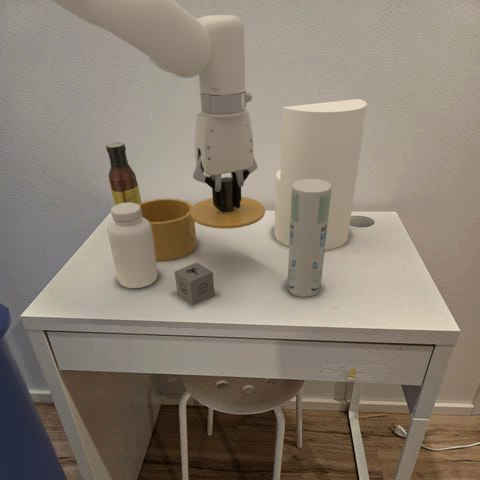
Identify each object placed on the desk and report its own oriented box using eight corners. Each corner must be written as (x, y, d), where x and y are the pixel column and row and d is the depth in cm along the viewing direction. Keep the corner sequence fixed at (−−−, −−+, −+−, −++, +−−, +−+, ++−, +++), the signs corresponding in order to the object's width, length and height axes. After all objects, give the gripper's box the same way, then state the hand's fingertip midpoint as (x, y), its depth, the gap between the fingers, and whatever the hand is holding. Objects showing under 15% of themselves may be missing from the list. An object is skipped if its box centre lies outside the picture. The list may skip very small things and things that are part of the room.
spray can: (319, 299, 80) (330, 193, 68) (284, 295, 82) (289, 190, 70) (322, 281, 85) (333, 179, 73) (289, 277, 87) (294, 177, 75)
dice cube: (198, 284, 85) (196, 262, 82) (214, 295, 82) (212, 272, 79) (177, 294, 83) (174, 271, 80) (192, 305, 79) (190, 281, 76)
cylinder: (363, 241, 99) (385, 106, 82) (295, 256, 93) (305, 115, 77) (323, 214, 111) (335, 92, 95) (262, 226, 106) (263, 99, 90)
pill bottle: (137, 294, 83) (123, 220, 74) (109, 281, 87) (93, 209, 78) (166, 276, 88) (157, 205, 79) (139, 265, 92) (127, 196, 83)
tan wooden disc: (209, 238, 78) (206, 199, 74) (179, 210, 88) (175, 175, 84) (278, 221, 83) (280, 183, 79) (243, 196, 94) (242, 162, 89)
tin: (146, 266, 91) (140, 228, 86) (128, 240, 101) (122, 205, 96) (205, 251, 96) (203, 214, 91) (183, 228, 106) (179, 194, 101)
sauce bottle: (147, 222, 109) (134, 139, 98) (144, 233, 104) (130, 147, 93) (121, 223, 109) (104, 140, 97) (117, 234, 104) (99, 148, 92)
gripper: (254, 95, 79) (254, 193, 90) (170, 105, 74) (181, 209, 85) (275, 101, 74) (273, 205, 85) (187, 113, 68) (196, 223, 79)
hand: (227, 206), depth 85 cm, fingers closed on tan wooden disc, 2 cm apart
